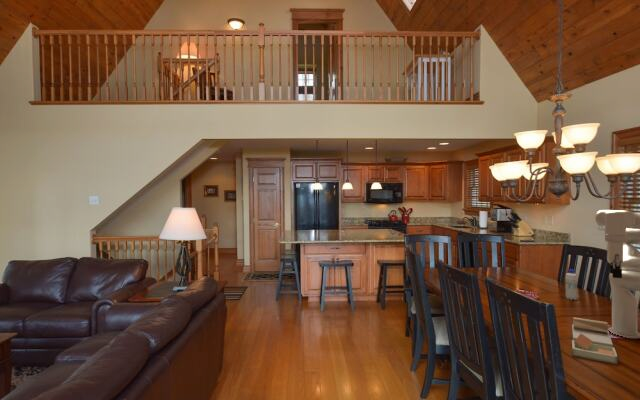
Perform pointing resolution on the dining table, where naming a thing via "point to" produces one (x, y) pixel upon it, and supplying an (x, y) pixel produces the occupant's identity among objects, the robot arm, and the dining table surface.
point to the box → (595, 353)
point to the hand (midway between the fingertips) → (615, 275)
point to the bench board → (593, 337)
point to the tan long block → (590, 325)
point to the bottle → (571, 285)
